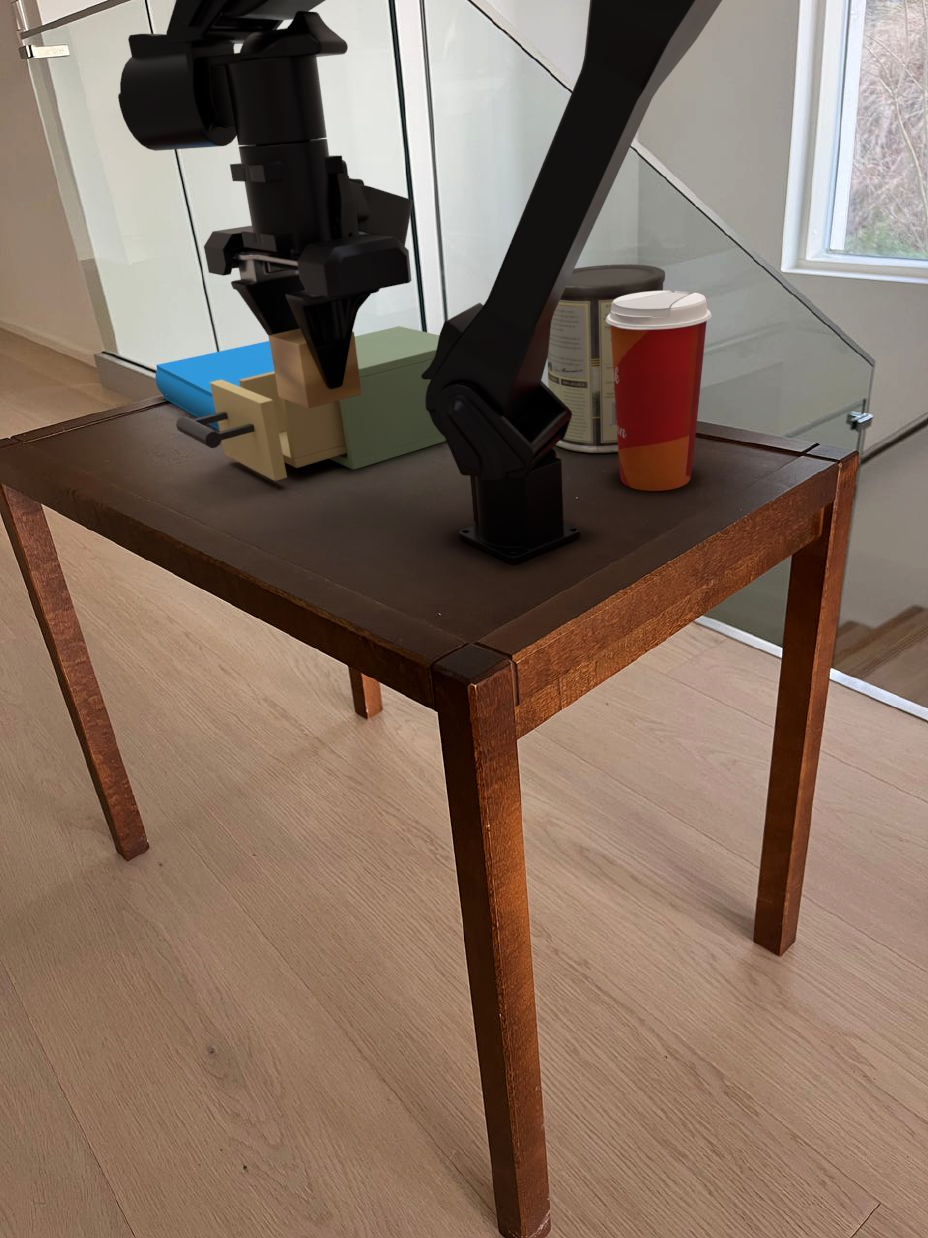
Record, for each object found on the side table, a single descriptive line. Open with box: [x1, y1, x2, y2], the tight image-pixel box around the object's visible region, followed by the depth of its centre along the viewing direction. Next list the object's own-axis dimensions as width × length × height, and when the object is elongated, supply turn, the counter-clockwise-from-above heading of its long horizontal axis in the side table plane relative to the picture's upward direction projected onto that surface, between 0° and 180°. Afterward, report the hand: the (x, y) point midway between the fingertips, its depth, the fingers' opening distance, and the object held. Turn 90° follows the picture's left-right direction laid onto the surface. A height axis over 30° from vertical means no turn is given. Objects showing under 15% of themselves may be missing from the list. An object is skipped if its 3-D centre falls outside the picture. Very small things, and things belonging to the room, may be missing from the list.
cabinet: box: [328, 325, 447, 471], centre depth 90 cm, size 14×12×9 cm
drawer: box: [175, 371, 347, 482], centre depth 85 cm, size 17×10×7 cm, turn 127°
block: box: [268, 329, 362, 408], centre depth 68 cm, size 4×4×4 cm
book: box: [155, 340, 274, 432], centre depth 105 cm, size 17×4×25 cm
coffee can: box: [546, 264, 666, 454], centre depth 84 cm, size 10×10×14 cm
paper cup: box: [606, 290, 712, 492], centre depth 73 cm, size 8×8×14 cm
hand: (318, 381), depth 69 cm, fingers closed on block, 4 cm apart
